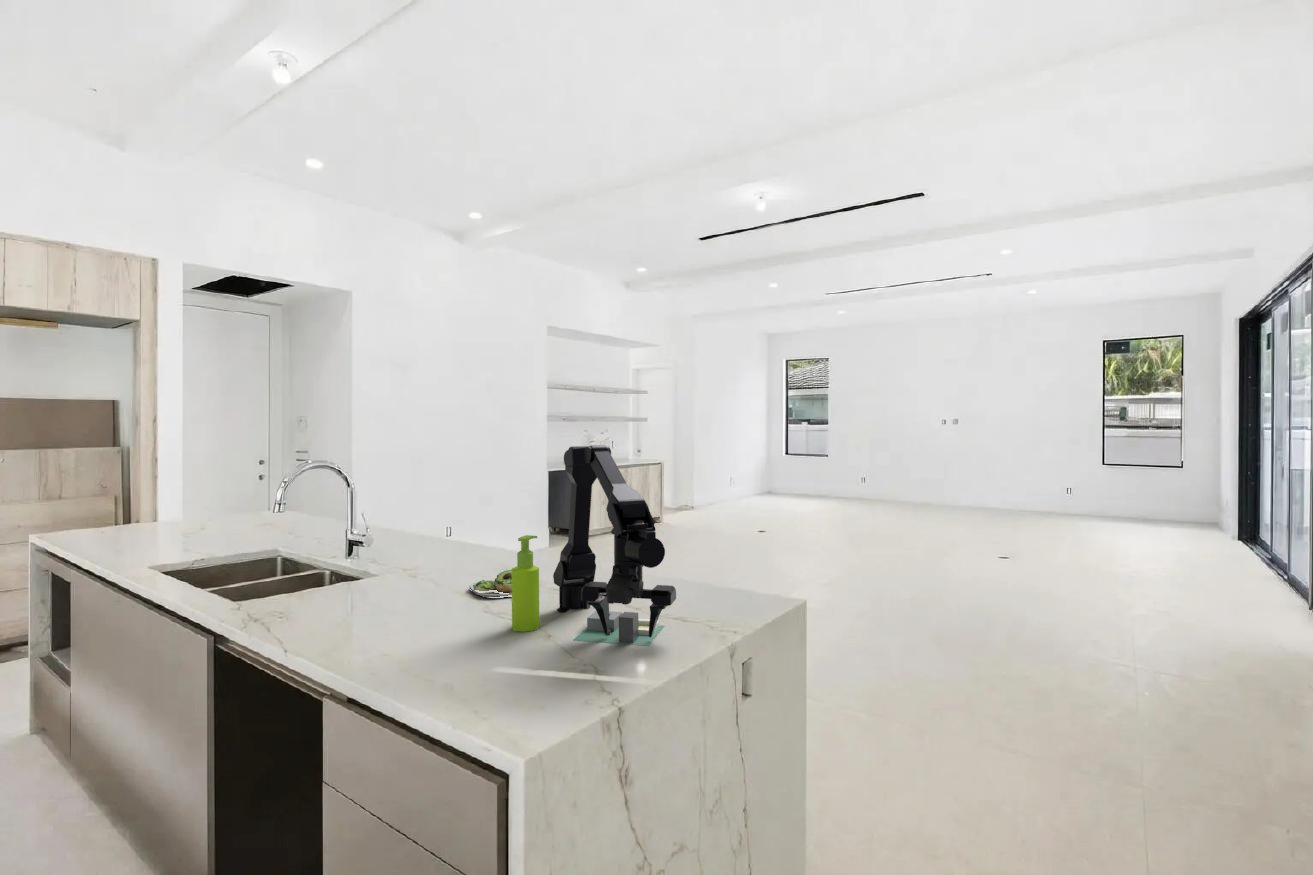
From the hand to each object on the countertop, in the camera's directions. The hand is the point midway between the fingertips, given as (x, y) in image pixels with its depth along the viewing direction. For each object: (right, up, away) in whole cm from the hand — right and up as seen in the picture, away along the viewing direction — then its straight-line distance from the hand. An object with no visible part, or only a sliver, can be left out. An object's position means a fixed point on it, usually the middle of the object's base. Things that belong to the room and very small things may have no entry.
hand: (628, 635), depth 142 cm
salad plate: (-35, -1, +46) cm, 58 cm away
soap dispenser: (-23, -2, +12) cm, 26 cm away
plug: (0, -1, 0) cm, 1 cm away
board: (-2, -2, +5) cm, 5 cm away
